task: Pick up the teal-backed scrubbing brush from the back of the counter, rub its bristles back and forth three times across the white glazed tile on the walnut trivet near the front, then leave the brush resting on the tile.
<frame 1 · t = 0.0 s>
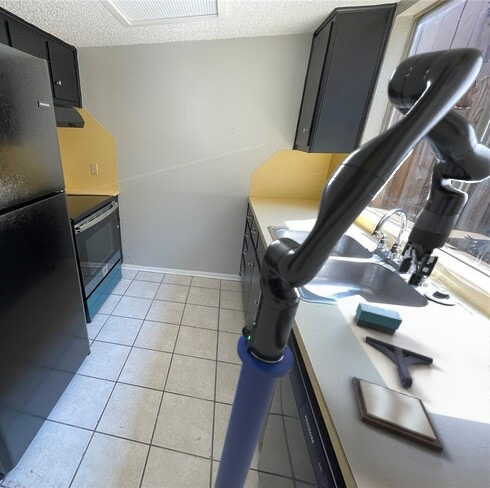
hand: (407, 278, 77), 17 cm above the worktop, tool pointing down, fingers open, 8 cm apart
brush: (372, 326, 82), on the worktop
trivet: (391, 411, 57), on the worktop
bracket: (399, 368, 68), on the worktop
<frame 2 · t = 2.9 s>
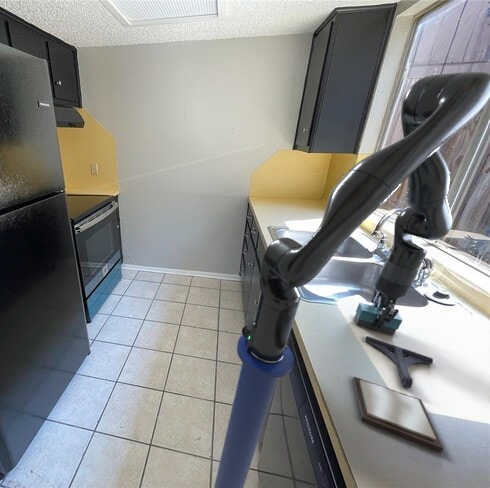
hand: (374, 323, 81), 1 cm above the worktop, tool pointing down, fingers closed on brush, 4 cm apart
brush: (372, 326, 82), on the worktop, touching gripper
everything else where it was.
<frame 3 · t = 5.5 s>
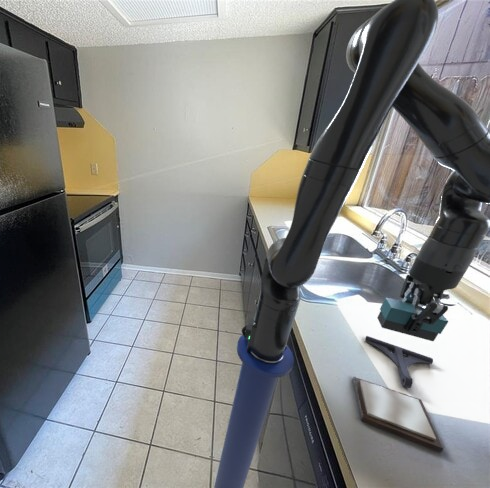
hand: (405, 324, 60), 15 cm above the worktop, tool pointing down, fingers closed on brush, 4 cm apart
brush: (403, 329, 61), point 14 cm above the worktop, touching gripper
everything else where it was.
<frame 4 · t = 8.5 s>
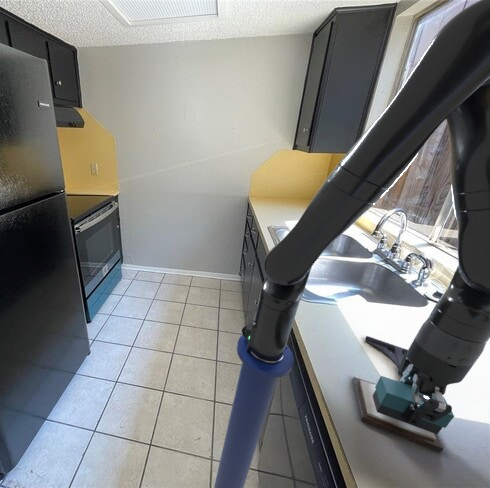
hand: (404, 409, 52), 4 cm above the worktop, tool pointing down, fingers closed on brush, 4 cm apart
brush: (402, 414, 53), point 3 cm above the worktop, touching gripper
everything else where it was.
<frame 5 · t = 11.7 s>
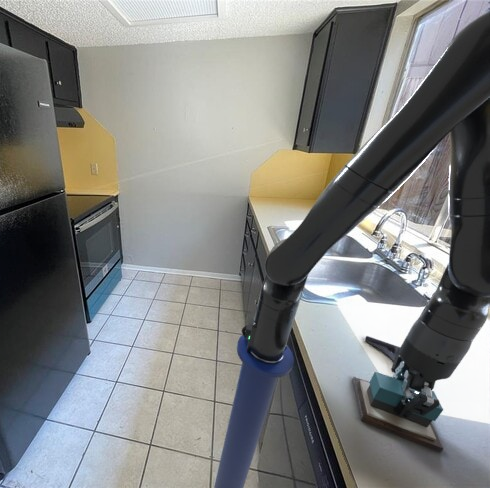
hand: (396, 404, 55), 3 cm above the worktop, tool pointing down, fingers closed on brush, 4 cm apart
brush: (395, 408, 55), point 2 cm above the worktop, touching gripper
everything else where it was.
when the fingers open (3 cm above the worktop, at t = 14.1 s): brush stays where it is, resting on trivet.
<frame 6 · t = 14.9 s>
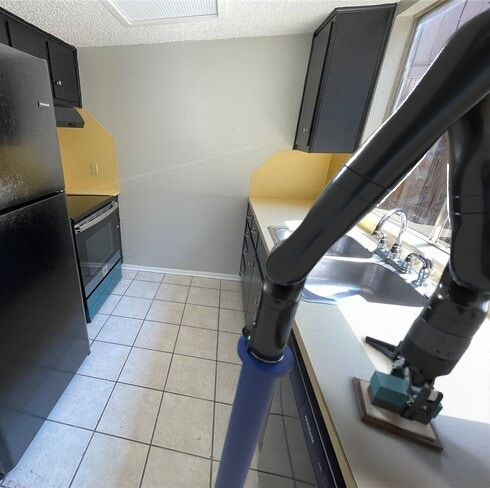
hand: (398, 399, 55), 4 cm above the worktop, tool pointing down, fingers open, 8 cm apart
brush: (395, 406, 56), point 2 cm above the worktop, touching trivet
everything else where it was.
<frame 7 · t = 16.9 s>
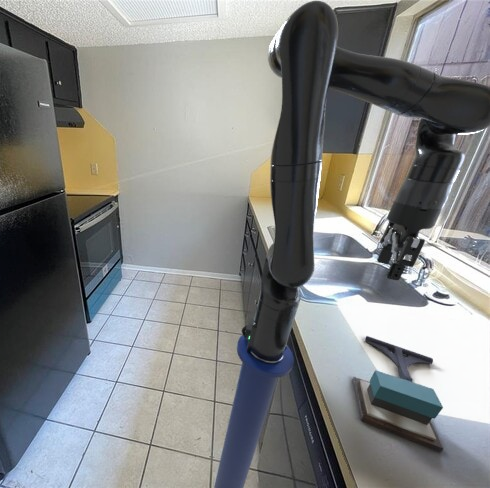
hand: (386, 270, 60), 27 cm above the worktop, tool pointing down, fingers open, 8 cm apart
nothing on the worktop moved.
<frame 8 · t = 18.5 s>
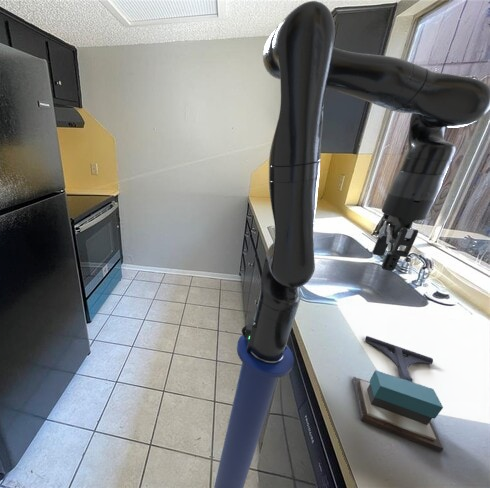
hand: (381, 261, 61), 28 cm above the worktop, tool pointing down, fingers open, 8 cm apart
nothing on the worktop moved.
at the end: brush inside the target area on the trivet (0.2 cm from its centre), point 1.8 cm above the trivet's base; the gripper is holding nothing; brush tilted 0° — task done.
